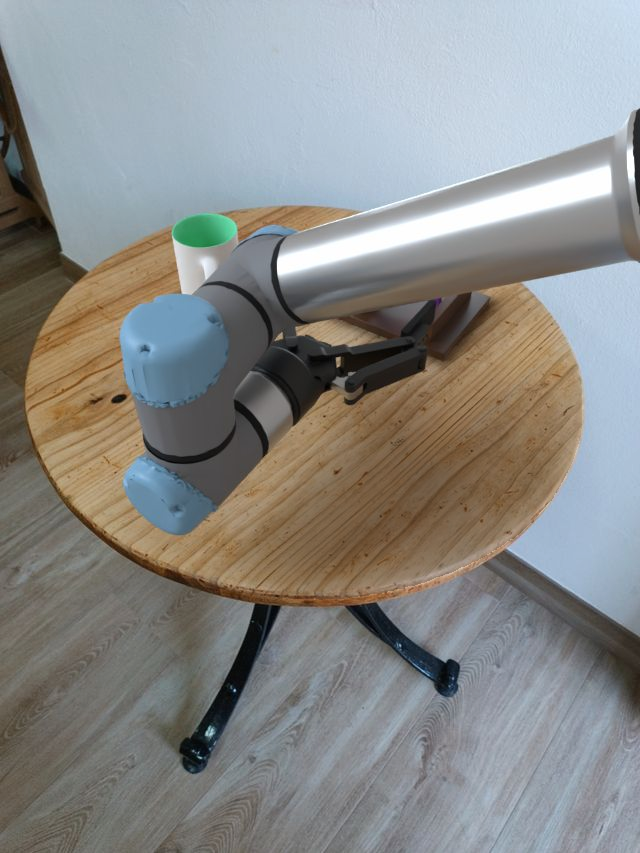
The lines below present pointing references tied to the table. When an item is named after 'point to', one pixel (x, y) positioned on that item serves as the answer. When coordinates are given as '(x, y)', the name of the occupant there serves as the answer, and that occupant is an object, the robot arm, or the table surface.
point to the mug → (202, 247)
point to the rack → (444, 330)
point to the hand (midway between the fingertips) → (377, 289)
